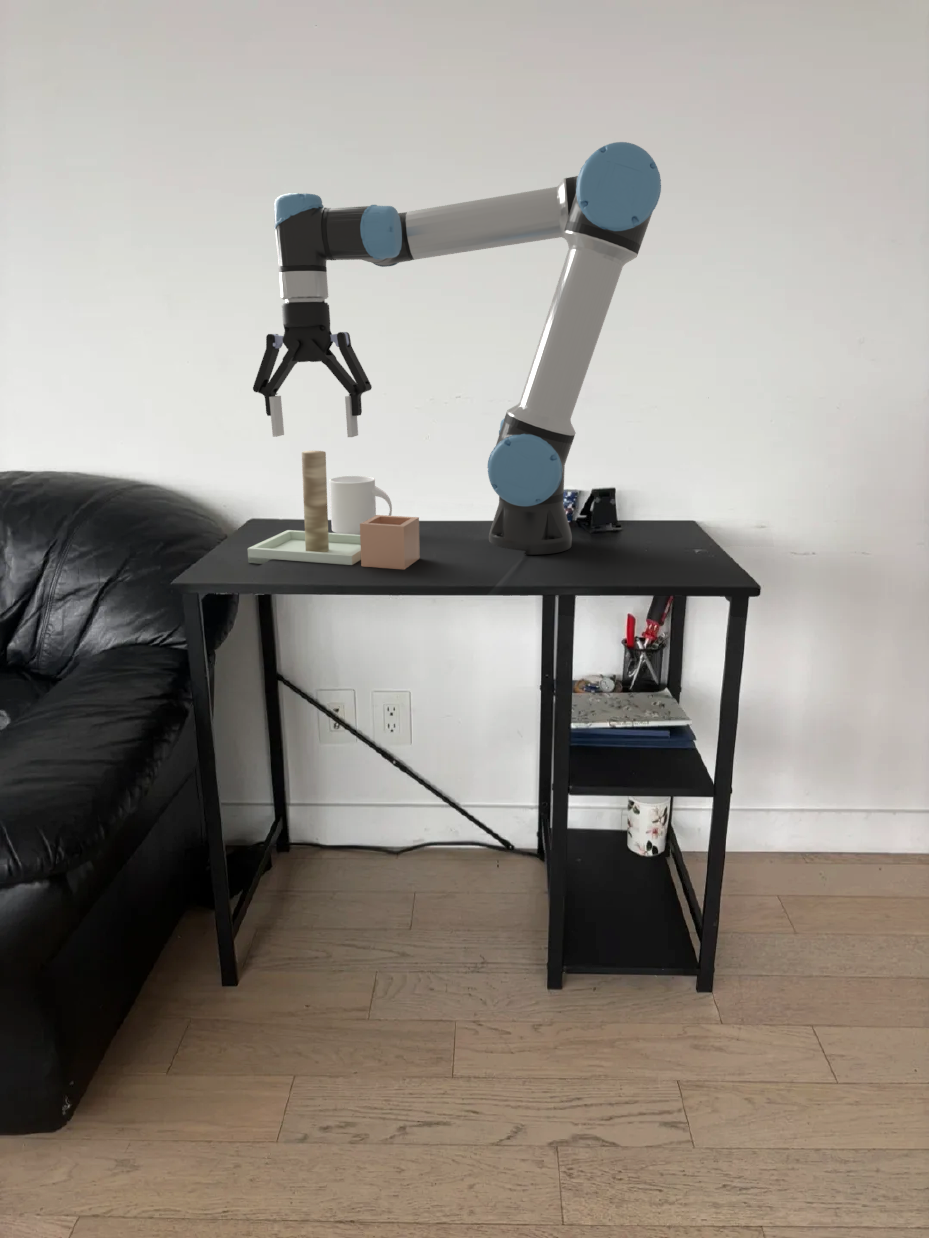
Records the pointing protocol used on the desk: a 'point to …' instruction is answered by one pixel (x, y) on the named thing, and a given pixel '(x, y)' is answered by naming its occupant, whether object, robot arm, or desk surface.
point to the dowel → (315, 501)
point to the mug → (353, 502)
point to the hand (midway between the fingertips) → (315, 436)
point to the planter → (389, 541)
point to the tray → (294, 549)
